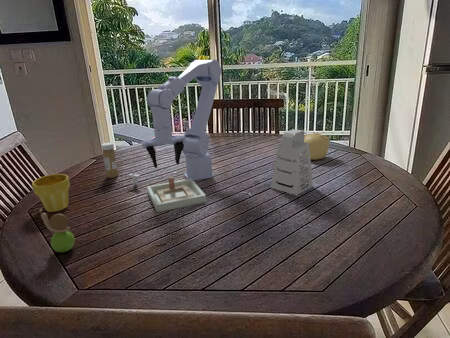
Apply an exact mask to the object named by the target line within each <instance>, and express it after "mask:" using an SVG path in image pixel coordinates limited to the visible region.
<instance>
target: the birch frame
mask: <svg viewBox="0 0 450 338" xmlns="http://www.w3.org/2000/svg"><path fill="white" fill-rule="evenodd" d="M174 182H175V178H174V176H168V183H169V188H166V189H161V190H157V194H158V196H159V198H160V200H161V202H162V203H163V202H168V201H173V200H178V199H183V198H188V197H193V196H194V194H193V193H192V192H191V190H190V189H189V188H188V187H187V185H182V186H177V187H175V184H174ZM181 190H183V191H184V192H185V194H186V196H181V197H176V198H171V199H167V198H166V196H165V193H170V192H176V191H181Z"/></svg>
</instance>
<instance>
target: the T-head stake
mask: <svg viewBox="0 0 450 338" xmlns="http://www.w3.org/2000/svg"><path fill="white" fill-rule="evenodd" d="M127 176H128V178H131V180H132V186H133V188H138V187H139V184H138V180H139V179H141V174H136V173H129V174H128V175H127Z"/></svg>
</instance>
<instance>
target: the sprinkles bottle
mask: <svg viewBox="0 0 450 338" xmlns="http://www.w3.org/2000/svg"><path fill="white" fill-rule="evenodd" d="M100 146H101V151H102V156H103V163H104V168H105V173H106V177H107V178H109V179H113V178H116V177H118V176H119V173H118V172H119V171H118V166H117V161H116V155H115V149H114V148H115V146H114V143H113V142H109V141H108V142H104V143H101V145H100Z"/></svg>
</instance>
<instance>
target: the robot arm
mask: <svg viewBox="0 0 450 338" xmlns="http://www.w3.org/2000/svg"><path fill="white" fill-rule="evenodd" d="M221 74H222V67H221V65H220V62H219V61H218V60H217V59H194V60H193V61H192V62H190V63H189V66H188V67H187V68H186V69H185V70H184V71H183V72H181V74H180V75H178V76H169V77H168V78H167V80H166V81H165V82H164V83H162V84H159V86H158V88H153V89H151V90H150V91H149V93H148V94H147V97H146V103H147V105H148V106H149V108H150V111H151V115H152V116H151V117H152V124H153V132H154V138H153V139H150V140H149V139H147V140H143V141H141V147H142V149H144V150H145V149H146V152H147V153H148V154H149V157H150V158H151V161H152V165H153V167H154V169H157V168H158V163H157V157H156V156H157V152H156V149H155V147H161V146H166V145H173V147H174V155H175V156H174V159H175V163H176V165H179V164H180V160H181V155H182V153H183V156H184V155H185V168H186V172H185V173H183V175H184V177H185V178H186V179H192V180H193V181H194V182H195V181H199V180H204V179H211V178H213V177H214V175H213V166H212V165H213V163H212V156H211V154H210V153H209V152H208V151H209V148H210V147H209V142H210V136H209V134H207V132H206V130H207V126H208V122H209V119H210V116H211V115H210V114H211V112H212V108H213V104H214V100H215V97H216V93H217V90H218V85H219V82H220V78H221ZM194 79H195V80H196V83H198V85H199V86H200V87H201V91H200V94H199V97H198V103H197V105H196V109H195V112H194V116H193V120H192V122H191V123H192V124H191V127H190V128H188V129H187V130H186V131H185V132H184V134H183V135H181V136H179V135H178V136H173V130H172V119H171V109H170V107H172V105H173V103H174V100H175V98H177V97H178V96H179V95H180V94H181V93H183V92H184V90H185V86H186V85H188V84H189V83H190V82H191V81H193V80H194Z"/></svg>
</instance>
